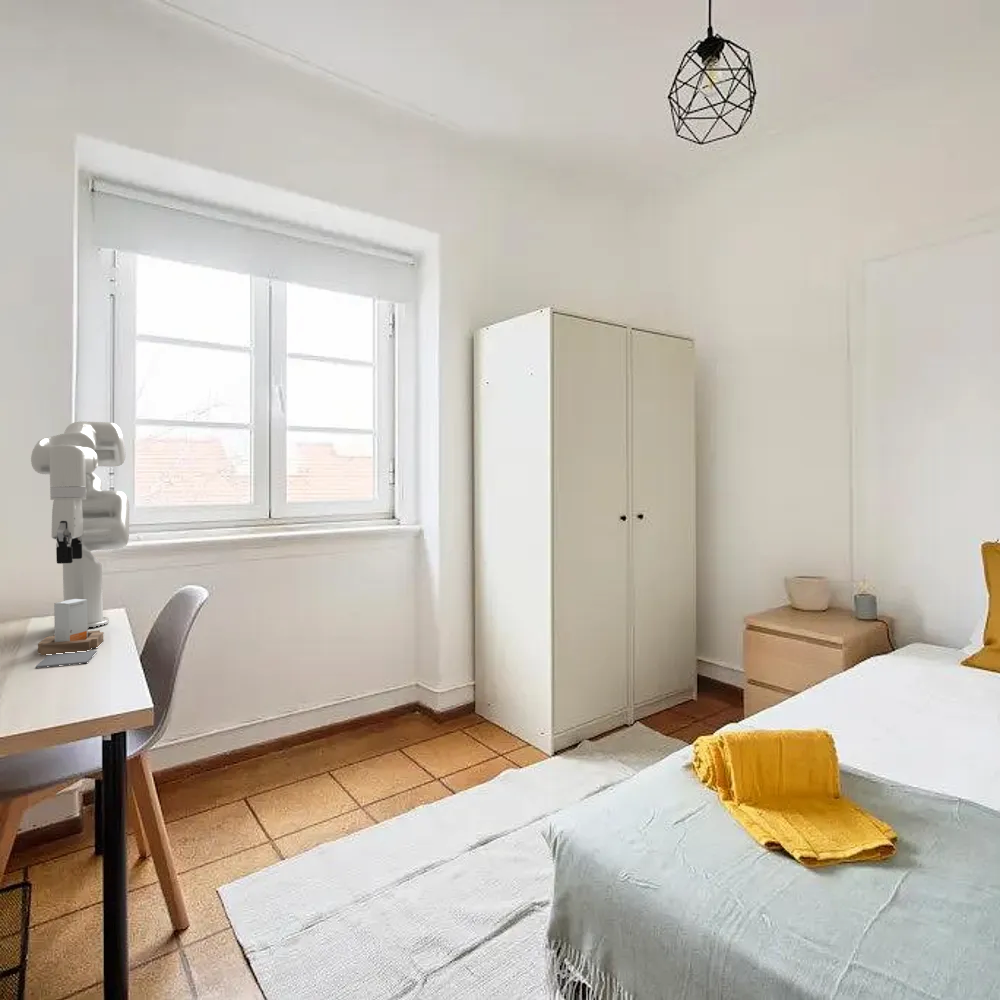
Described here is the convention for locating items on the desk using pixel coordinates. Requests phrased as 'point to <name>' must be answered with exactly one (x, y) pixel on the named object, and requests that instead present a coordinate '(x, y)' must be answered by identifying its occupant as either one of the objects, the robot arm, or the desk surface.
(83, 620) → the skincare box
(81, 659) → the grey rubber mat
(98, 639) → the box
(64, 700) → the desk surface
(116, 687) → the desk surface
